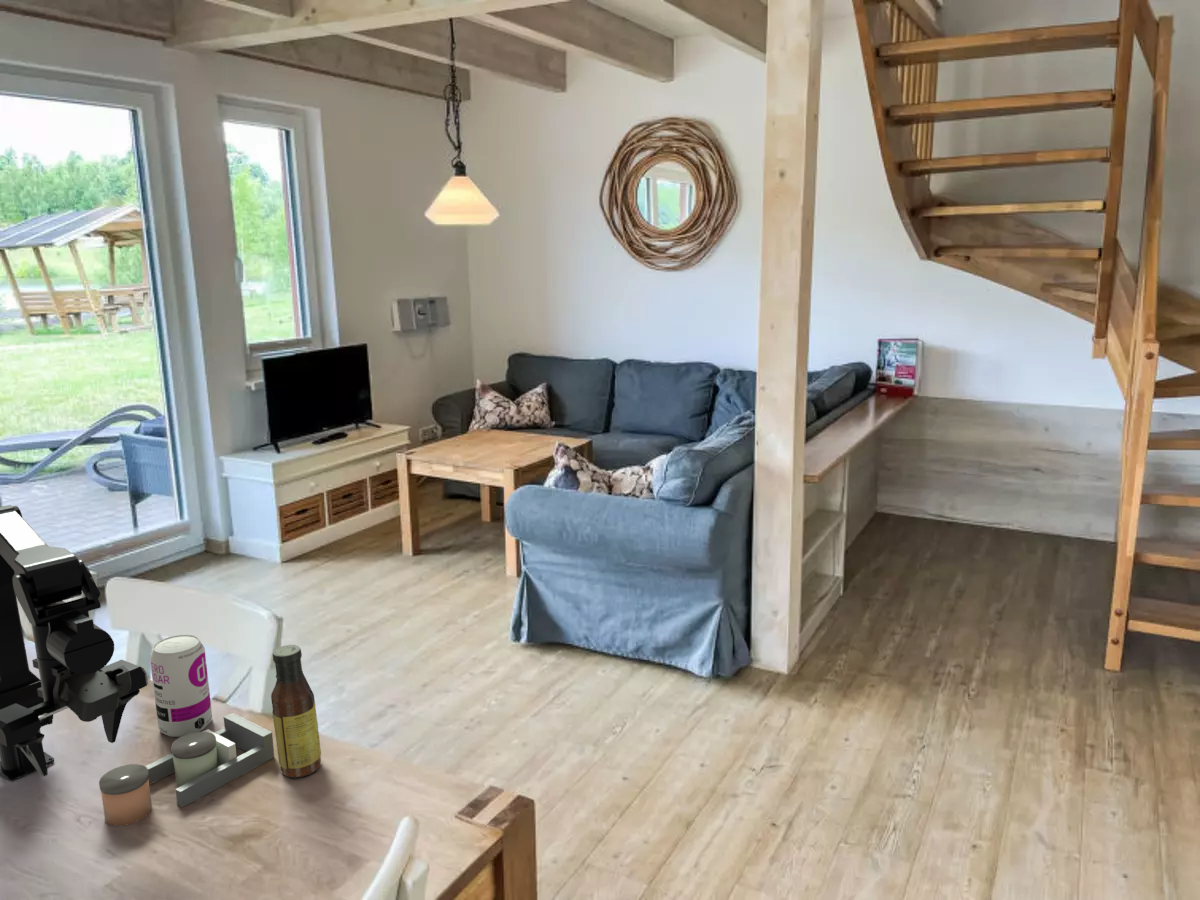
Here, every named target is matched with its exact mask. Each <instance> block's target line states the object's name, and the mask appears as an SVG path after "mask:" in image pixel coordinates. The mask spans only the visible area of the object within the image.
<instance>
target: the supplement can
mask: <svg viewBox="0 0 1200 900" xmlns="http://www.w3.org/2000/svg"><path fill="white" fill-rule="evenodd" d="M206 657H207V656H206V649H205V646H204V644H203V642H201V640H200V638H199V637H198V636H196V635H194V634H193V635H192V634H178V635H172V636H168V637H165V638H163V639H160V640H159V641H157V642H156V643H154V644H153V647H152V651H151V654H150V655H149V662H150V672H151V677H152V678H151V679H152V687H153V694H154V702H155V711H156V717H157V727H158V729H159V731H160V733H162V734H164V735H165V736H167V735H168V736H167V737H173V738H180V737H182V736H184V735H187V734H190V733H194V732H202V729H203V730H204V729H206V727H208V726H209V724H210V723H211V722H212V719H213V711H212V702H211V694H210V686H209V685H210V684H209V677H208V668H207V667H208V664H207V658H206Z"/></svg>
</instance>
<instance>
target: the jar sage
mask: <svg viewBox="0 0 1200 900" xmlns="http://www.w3.org/2000/svg"><path fill="white" fill-rule="evenodd" d="M170 747H171V748H170V749H171V753H172V755H173V760H174V768H175V772H174V776H175V782H176V785H177V786H178V787H180V786H182V785H184V784H186V783H188V782H190V781H192V780H194V779H196V778H198V777H200V776H202V775H203V774H205V773H207V772H209V771H211V770H213V769H215V768H217V767H219V766H218V759H217V750H216V737H215V735H214V734H212V733H209V732H203V731H199V732H194V733H190V734H187V735H184V736H182V737H177V739H175V740H174V741H173V742H172V744H171V746H170Z"/></svg>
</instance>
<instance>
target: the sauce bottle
mask: <svg viewBox="0 0 1200 900" xmlns="http://www.w3.org/2000/svg"><path fill="white" fill-rule="evenodd" d="M302 653H303V652H302V650H301V648H300V646H298V645H296V644H288V645H282V646H279V647H277V648H275V649H274V650H273V651H272V660H273V662H274V664H275V678H276V681H275V685H274V687H273V689H272V691H271V695H270V699H271V704H272V705H271V706H272V719H273V727H274V735H275V741H276V743H275V744H276V748H277V751H276V752H277V758H278V763H279V765H280V768H279V769H280V771H281V773H282V774H283V775H285V776H287V777H289V778H295V779H297V778H302V777H307V776H309V775H311V774H313V773H315V772H316V771H317V770H318V769H319V768H320V767H321V760H322V758H321V757H322V749H321V741H320V733H319V724H318V723H319V722H318V718H317V717H318V716H317V710H316V709H317V707H316V700H315V695H314V692H313V691H312V688H311V686H310V685H309V682H308V680H307V679H306V676H305V675H304V673H303V672H304V671H303V667H302V657H303V656H302V655H303V654H302Z"/></svg>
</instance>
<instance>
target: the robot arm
mask: <svg viewBox="0 0 1200 900" xmlns="http://www.w3.org/2000/svg"><path fill="white" fill-rule="evenodd" d="M21 511H22V510H21V509H20V508H19V507H18V505H11V504H9V505H4V506H0V775H1V776H2V777H4V778H6V779H7V780H8V781H15V780H16V779H18V778H21V777H23V776H25V775H28V774H30V773H32V772H34V771H37V773H38V774H39V775H41V776H43V777H47V776H48V765H50V764H53V763H54V762H55V758H54V756H52V755H50V754H48V753H47V752H46V751H44V745H43V740H44V738H45V734H44V733H41V728H42V727H45V726H48V725H52V724H53V721H54V715H55V714H57V713H59V712H62V711H64V710H67V709H68V708H69V710H70V711H71V712H73V713H74V714H75V715H76V716H77V717H78V719H79V720H80V721H81V722H85V723H87V722H93V721H96V720H97V719H98V718H99V717H101V720H102V726H103V731H104V733H105V736H106V739H107V741H108V742H109V743H111V744H114V743H115V742H116V741H117V737H118V734H119V733H118V732H119V729H120V724H121V721H122V718H123V715H124V711H125V708H126V706H127V704H128V703H129V702H130V701H131V700H132V699H133V698H134V697H136V696H138V694H139V693H140V692H141V691H140V690H141V689H144V688H146V687H147V686H148V685H149V679H148V675H147V673H148V672H147V671H146V670H145V669H144V667H142V666H140V665H137V664H136V663H132V662H129V661H127V660H124V659H119V660H118V661H115V662H112V663H110V664H108V663H109V662H110V661H111V660H112V658H113V655H114V651H115V642H114V639H113V638H112V637H111V635H110V633H108V632H107V631H106V630H104V629H102V628H101V627H100V626H98V625H96V624H95V623H94V619H93V618H91V617H90V614H89V612H90V611H94V610H98V609H101V602H100V600H99V599H100V596H101V592H100V590H99V588H98V586H97V584H96V582H95V581H96V580H95V579H94V578H93V576H92V573H91V571H90V569H89V567H88V566H86V564H85V562H84V561H83V560H81V559H79V558H78V557H77V556H76V555H75V554H74V553H72V552H71V551H70V550H68V549H66V548H65V547H57V546H51V545H48V544H47V543H46V541H44V539H43V538H42V537H41V536H40V535H39V534H38V533H37V532H36V531H35V530H34V529H33V528H32V526H31V525H30V524H29V523H27V521H26V520H25V519H24V517H23V515H22V512H21ZM82 595H84V597H81V596H82ZM77 597H80V598H77ZM74 598H77V599H74ZM69 599H73V600H69ZM66 600H69V601H67V602H66ZM18 603H19V604H20V606H21V608H22V610H23V613H24V615H25V616H26V618H27V620H28V622H29V624H30V625H31V630H32V636H33V643H34V647H35V648H34V649H35V654H36V658H33V659H32V661H31V662H32V667H33V668H35V669H37V670H38V672H39V677H38V676H37V675H35V674H34V673H33V672H32V671H31V670H30V667H29V666H30V665H29V660H28V656H27V650H26V644H25V639H24V638H25V637H24V633H23V627H22V622H21V617H20V612H19V611H20V609H19V605H18Z"/></svg>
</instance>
